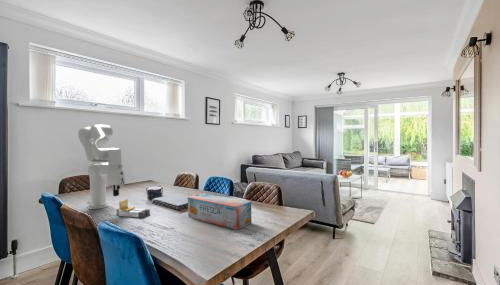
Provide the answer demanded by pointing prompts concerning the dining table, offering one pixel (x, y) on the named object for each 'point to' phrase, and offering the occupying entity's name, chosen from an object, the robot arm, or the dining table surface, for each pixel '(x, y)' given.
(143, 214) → the tongs arm
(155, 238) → the dining table surface
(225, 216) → the soda box
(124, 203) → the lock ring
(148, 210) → the tongs fixed arm
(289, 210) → the dining table surface
